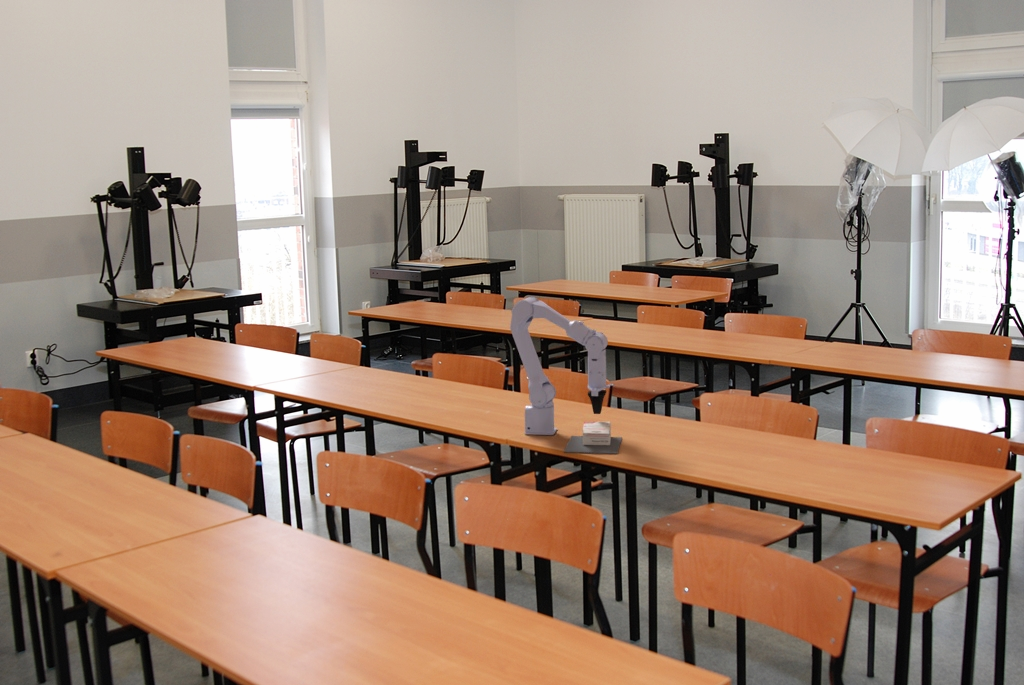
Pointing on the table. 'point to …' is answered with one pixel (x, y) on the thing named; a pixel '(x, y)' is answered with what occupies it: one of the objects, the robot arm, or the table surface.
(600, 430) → the ink cartridge box
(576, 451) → the mat
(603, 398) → the robot arm
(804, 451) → the table surface
